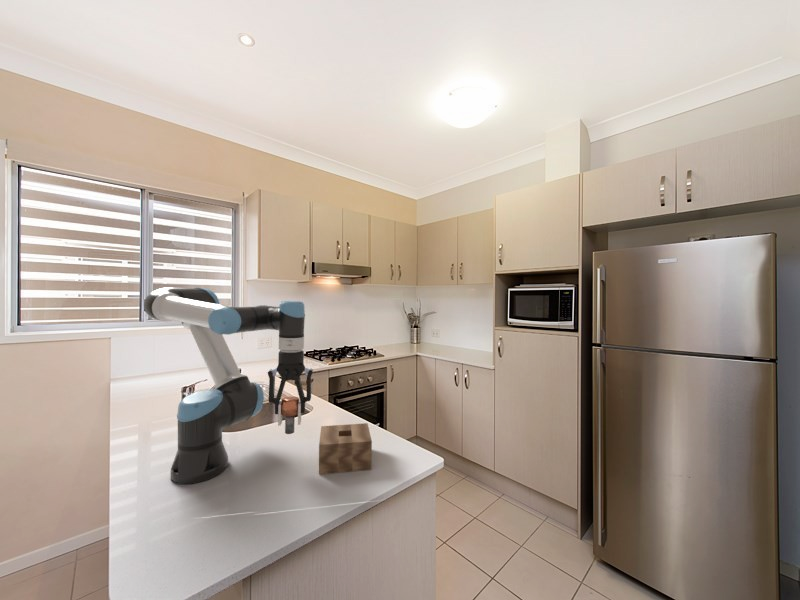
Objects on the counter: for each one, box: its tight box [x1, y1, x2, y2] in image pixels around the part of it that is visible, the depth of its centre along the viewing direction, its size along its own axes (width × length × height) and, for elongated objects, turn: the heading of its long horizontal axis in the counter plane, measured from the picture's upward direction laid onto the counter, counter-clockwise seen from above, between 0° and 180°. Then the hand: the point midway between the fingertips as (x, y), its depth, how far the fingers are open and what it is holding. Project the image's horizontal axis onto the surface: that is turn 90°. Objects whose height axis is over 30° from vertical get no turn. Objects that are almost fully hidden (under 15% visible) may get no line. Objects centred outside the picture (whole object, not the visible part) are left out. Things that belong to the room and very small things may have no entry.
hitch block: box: [318, 422, 373, 475], centre depth 106 cm, size 16×14×9 cm
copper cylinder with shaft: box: [281, 396, 300, 435], centre depth 101 cm, size 5×5×10 cm
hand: (289, 423), depth 101 cm, fingers closed on copper cylinder with shaft, 5 cm apart
